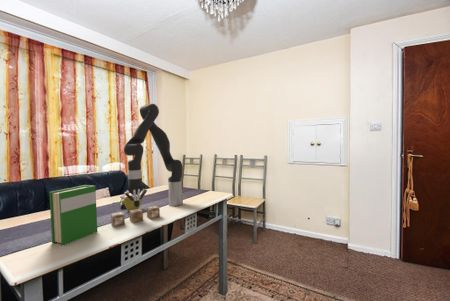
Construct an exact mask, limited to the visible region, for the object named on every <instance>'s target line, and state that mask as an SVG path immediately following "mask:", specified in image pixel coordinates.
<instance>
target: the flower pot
mask: <svg viewBox="0 0 450 301" xmlns="http://www.w3.org/2000/svg"><path fill="white" fill-rule="evenodd" d="M129 196H130V197H131V198H133V196H132V195H129ZM142 199H143V198H142ZM142 199H140V200H139V206H138V207H135V206H134V201H131V200H130V199H129V198H128V197H127V196H126V197H125V198H123V201H124V206H125V208H126V210H127V211H129V212H130V210H135V209H140V207H141V206H142V205H141V204H142Z"/></svg>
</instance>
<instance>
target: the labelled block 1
mask: <svg viewBox="0 0 450 301" xmlns="http://www.w3.org/2000/svg"><path fill="white" fill-rule="evenodd" d="M125 219H126V218H125V213H124V212H123V211H119V212H113V213H110V224H111V226H112V228H115V227H122V226H125V225H126V222H125V221H126V220H125Z"/></svg>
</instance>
